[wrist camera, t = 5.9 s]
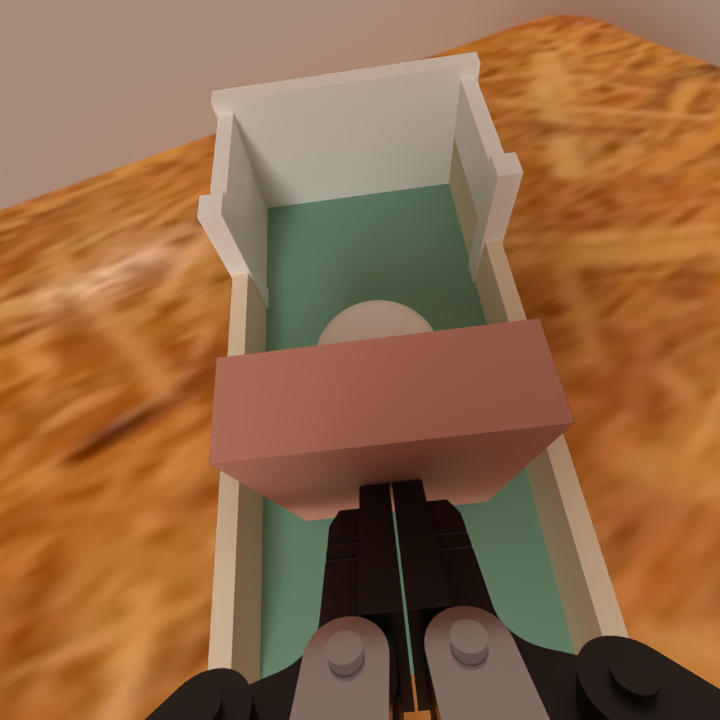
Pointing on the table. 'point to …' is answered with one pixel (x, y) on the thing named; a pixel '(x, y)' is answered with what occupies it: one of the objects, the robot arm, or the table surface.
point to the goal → (351, 150)
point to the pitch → (482, 520)
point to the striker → (388, 416)
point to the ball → (373, 322)
